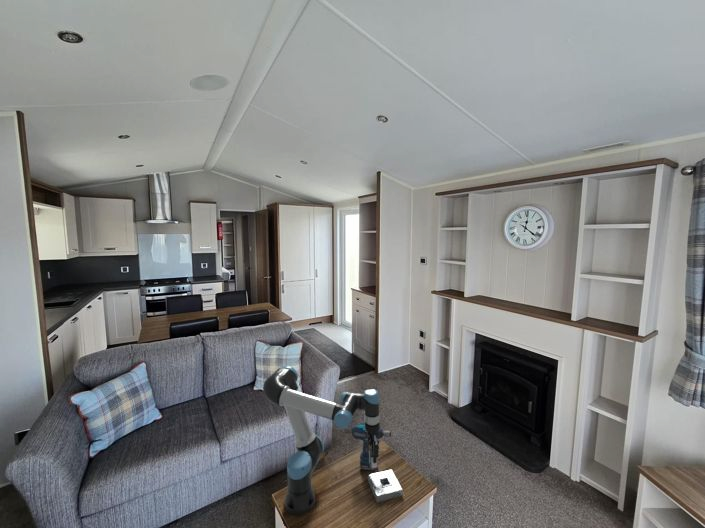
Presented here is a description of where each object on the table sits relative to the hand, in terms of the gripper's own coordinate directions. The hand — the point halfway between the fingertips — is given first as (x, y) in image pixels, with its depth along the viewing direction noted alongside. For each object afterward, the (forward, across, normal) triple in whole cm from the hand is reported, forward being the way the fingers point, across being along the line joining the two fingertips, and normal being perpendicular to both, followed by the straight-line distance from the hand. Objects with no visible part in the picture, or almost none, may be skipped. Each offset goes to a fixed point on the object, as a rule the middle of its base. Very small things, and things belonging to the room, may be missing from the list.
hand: (373, 464), depth 159 cm
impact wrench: (+18, +19, -4) cm, 26 cm away
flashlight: (+2, 0, 0) cm, 2 cm away
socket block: (+18, +3, -7) cm, 19 cm away
